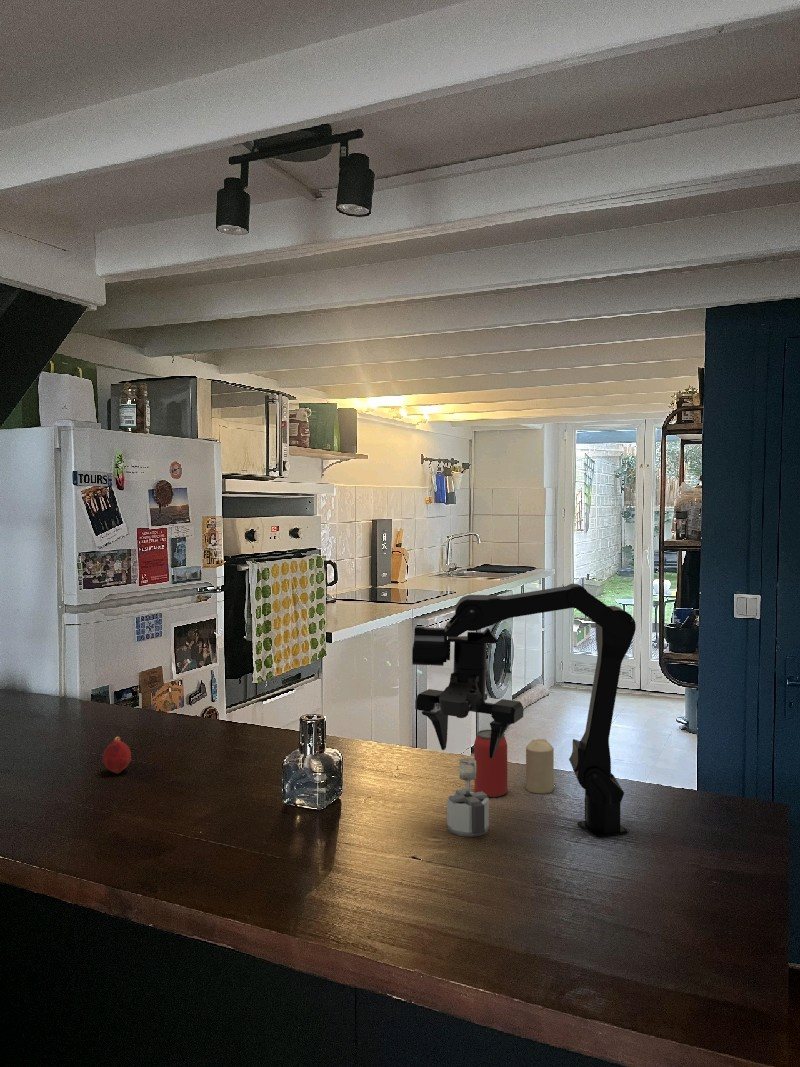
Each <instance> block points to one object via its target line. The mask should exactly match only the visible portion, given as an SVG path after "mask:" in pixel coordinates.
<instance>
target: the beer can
mask: <svg viewBox="0 0 800 1067" xmlns="http://www.w3.org/2000/svg"><path fill="white" fill-rule="evenodd" d="M490 739H491V729H481V730H479V731H477V732H476V736H475V739H474V743H473V746H474V748H473V749H474V750H473V751H474V753H473V756H474V757H473V759H474V760H476V779H475V780H473V782H474V791H475V792H482V791H483V792H484V793H485V794H487V798H498V797H503V796H504V795H506V793H507V792H508V742H507V738H506V736H505V733H504V734H503V736H502V738H501V741H500V743H499V745H498V748H497V750H496V752H495V755H494V757H493V758H490V755H489V749H490Z"/></svg>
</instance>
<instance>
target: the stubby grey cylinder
mask: <svg viewBox="0 0 800 1067" xmlns="http://www.w3.org/2000/svg"><path fill="white" fill-rule="evenodd" d="M458 763H459V764H458V765H459V766H458V768H459V774H458V775H459V777H458V778H459V779H460V780H462V781H465V789H466V797H470V792H471V781H474V780H475V779H476V760H474V758H460V759H459V762H458ZM479 800H480V799H479ZM480 801H481V800H480ZM457 803H459V804H466V805H470V804H468V803H467V802H466V801H463V802H457Z"/></svg>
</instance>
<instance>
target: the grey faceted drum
mask: <svg viewBox="0 0 800 1067" xmlns="http://www.w3.org/2000/svg"><path fill="white" fill-rule="evenodd" d="M479 799H480V800H481V801H480V800H479ZM463 801H466V802H467V803H468V804H470V805H466V804H459V803H457V802H463ZM446 825H447V831H448V832H449V833H451V834H452V835H455V836H457V837H458V836H459V837H464V838H474V837H480V836H484V835H486V834H487V833H488V832H489V825H490V798H489V797H487V794H485V793H484V792H483V791H482V792H476V791H475V792H473V791H470V797H466V788H462V789H455V793H451V795H449V796H448V797H446Z"/></svg>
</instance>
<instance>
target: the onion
mask: <svg viewBox="0 0 800 1067" xmlns="http://www.w3.org/2000/svg"><path fill="white" fill-rule="evenodd" d="M131 760H132V752H131V749H130V747H129V745H128V744H126V742H124V741H121V737H120V736H116V737H115V738H114V739H113V741H112V742H111V743H110V744H108V745H107V746H106V748H105V749H104V751H103V755H102V763H103V764H104V766H105V768H106V769H107V770H109V771H110V772H112V773H114V774H117V775H118V774H120V773H121V772H122V771H124V769H126V768H127V767H128V766H129V765H130V762H131Z"/></svg>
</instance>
